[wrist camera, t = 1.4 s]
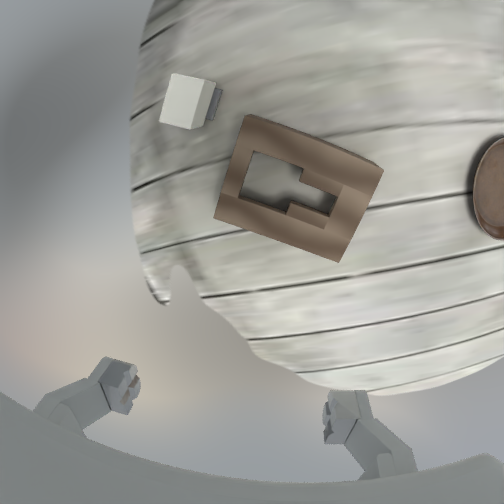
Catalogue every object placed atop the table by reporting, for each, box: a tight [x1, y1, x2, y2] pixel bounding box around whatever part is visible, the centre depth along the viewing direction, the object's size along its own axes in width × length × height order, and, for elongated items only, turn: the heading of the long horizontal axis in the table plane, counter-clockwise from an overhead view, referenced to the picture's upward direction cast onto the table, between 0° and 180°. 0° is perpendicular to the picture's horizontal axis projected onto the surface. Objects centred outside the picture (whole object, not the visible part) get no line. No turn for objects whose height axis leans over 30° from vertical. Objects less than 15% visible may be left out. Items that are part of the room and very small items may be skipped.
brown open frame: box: [213, 115, 384, 263], centre depth 38 cm, size 14×18×5 cm
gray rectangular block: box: [159, 73, 223, 130], centre depth 32 cm, size 6×4×8 cm
